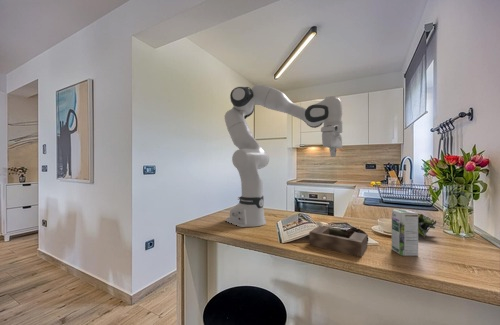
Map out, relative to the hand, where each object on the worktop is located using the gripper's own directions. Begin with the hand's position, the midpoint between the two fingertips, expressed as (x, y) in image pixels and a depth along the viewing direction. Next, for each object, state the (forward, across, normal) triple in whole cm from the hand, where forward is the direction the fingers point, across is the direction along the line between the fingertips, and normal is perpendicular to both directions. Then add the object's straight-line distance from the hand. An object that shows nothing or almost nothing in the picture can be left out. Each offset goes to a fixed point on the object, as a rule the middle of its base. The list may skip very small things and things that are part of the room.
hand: (333, 157), depth 109 cm
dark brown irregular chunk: (+35, +19, +10) cm, 41 cm away
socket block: (+34, +28, +10) cm, 45 cm away
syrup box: (+34, +20, +30) cm, 50 cm away
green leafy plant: (+34, -4, +34) cm, 49 cm away
